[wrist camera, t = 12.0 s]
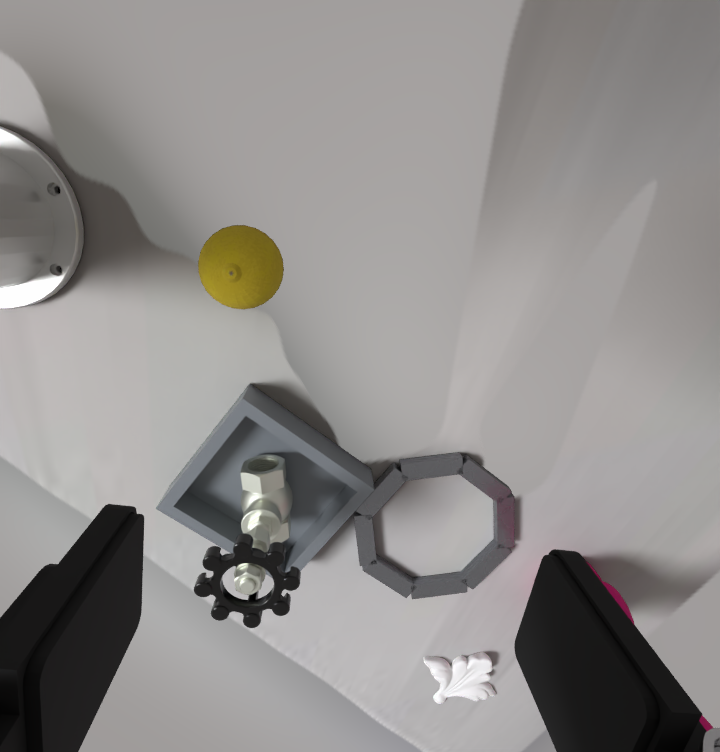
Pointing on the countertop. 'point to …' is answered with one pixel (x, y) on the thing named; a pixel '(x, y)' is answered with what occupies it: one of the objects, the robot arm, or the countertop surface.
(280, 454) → the bin
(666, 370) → the countertop surface
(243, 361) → the countertop surface
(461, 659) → the acanthus leaf ornament
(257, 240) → the lemon
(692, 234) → the countertop surface
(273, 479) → the valve
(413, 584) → the segmented octagonal ring
